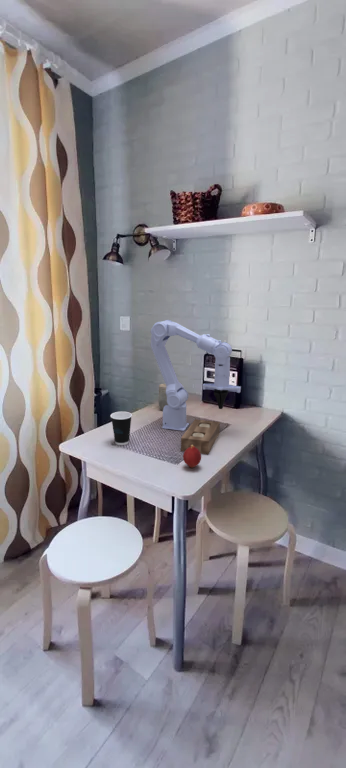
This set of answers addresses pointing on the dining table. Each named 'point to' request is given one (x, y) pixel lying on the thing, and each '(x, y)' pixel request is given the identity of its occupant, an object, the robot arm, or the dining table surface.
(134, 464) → the dining table surface
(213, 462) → the dining table surface
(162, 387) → the carving
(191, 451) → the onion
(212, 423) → the walnut block
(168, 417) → the robot arm
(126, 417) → the dixie cup
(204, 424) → the peg back
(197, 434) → the peg front
